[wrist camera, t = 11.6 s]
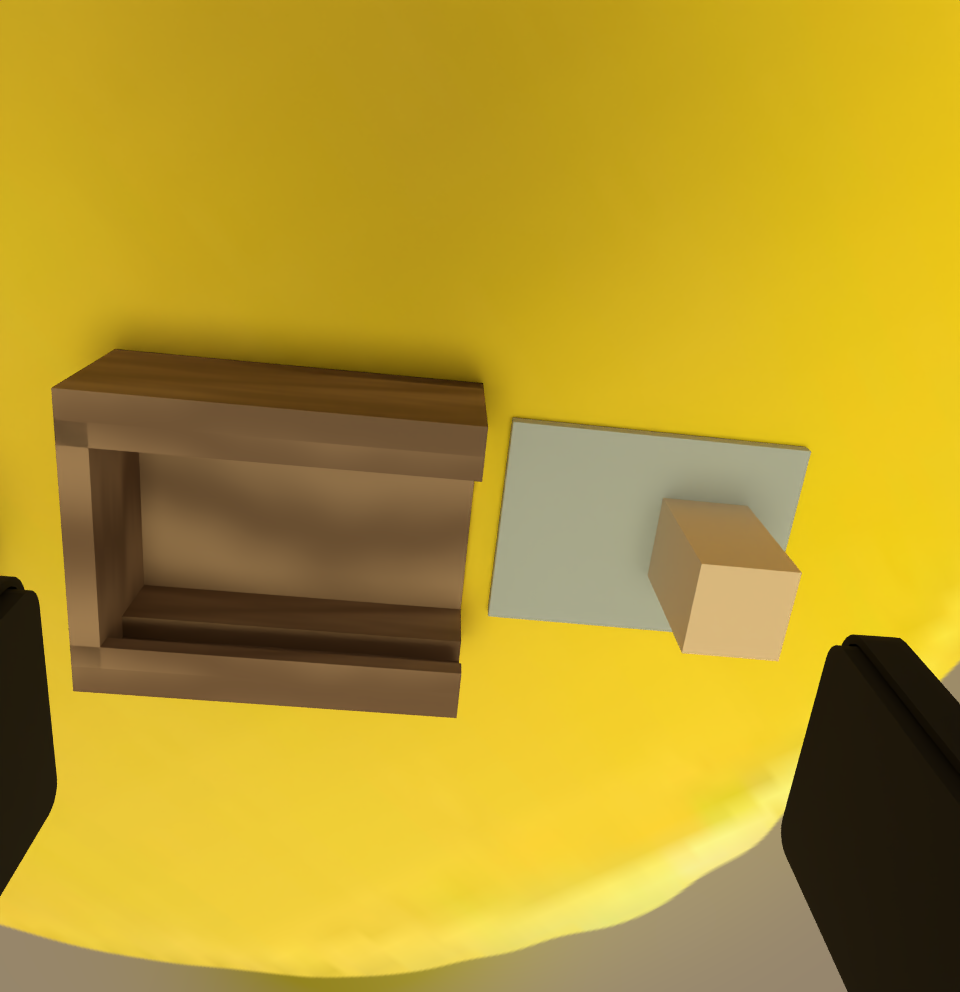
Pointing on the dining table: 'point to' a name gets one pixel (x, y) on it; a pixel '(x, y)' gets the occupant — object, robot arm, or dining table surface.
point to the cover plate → (650, 534)
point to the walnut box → (266, 531)
